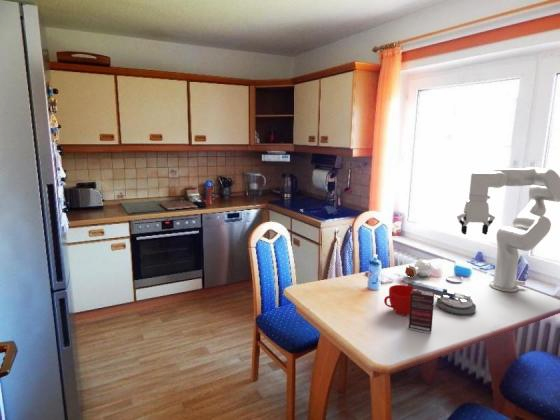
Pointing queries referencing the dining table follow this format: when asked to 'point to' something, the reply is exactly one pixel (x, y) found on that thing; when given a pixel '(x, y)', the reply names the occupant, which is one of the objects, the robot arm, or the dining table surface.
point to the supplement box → (421, 310)
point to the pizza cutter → (446, 296)
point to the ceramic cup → (400, 298)
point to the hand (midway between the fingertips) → (474, 233)
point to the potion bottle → (419, 268)
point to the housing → (455, 311)
